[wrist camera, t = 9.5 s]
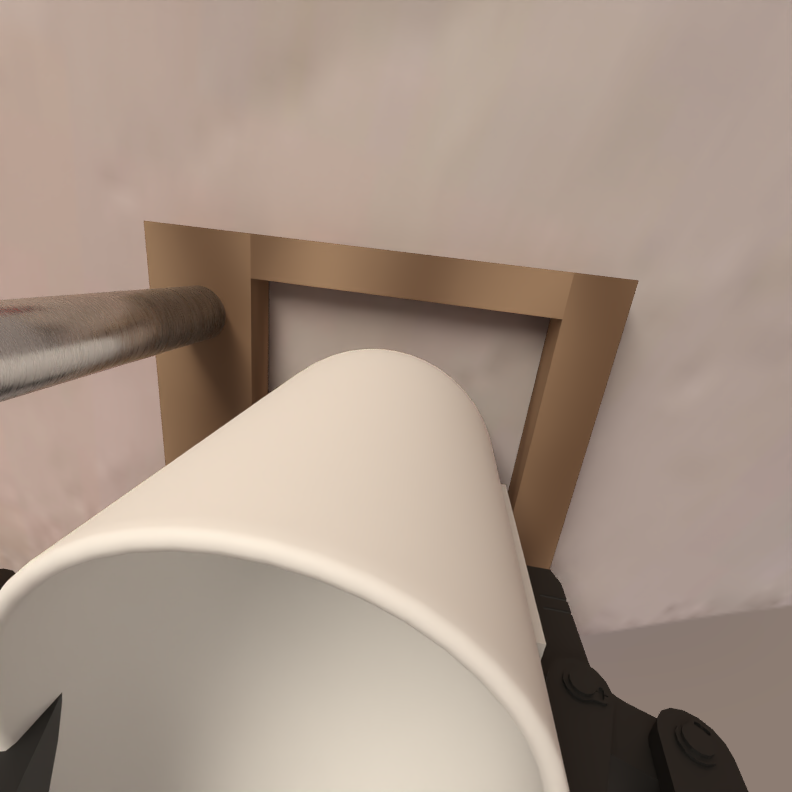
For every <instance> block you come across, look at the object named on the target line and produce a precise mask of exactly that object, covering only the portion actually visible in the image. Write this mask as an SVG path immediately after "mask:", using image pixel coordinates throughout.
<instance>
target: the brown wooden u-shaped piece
mask: <svg viewBox="0 0 792 792" xmlns="http://www.w3.org/2000/svg"><path fill="white" fill-rule="evenodd" d="M144 229H145V240H146V251H147V263H148V274H149V285H150V289H154V288H168V287H181V286H194V285H198V286H203V287H206V288H208V289H210V290H211V291H213V292H214V293H215V294H216V295H217V296H218V297H219V299H220V300H221V302H222V304H223V306H224V309H225V315H226V320H225V325H224V327H223V329H222V331H221V332H220V333H219V334H218V335H217V336H215V337H214V338H211V339H207V340H204V341H201V342H197V343H194V344H191V345H188V346H184V347H181V348H178V349H174V350H171V351H168V352H164V353H161V354H158V355H156V363H157V374H158V386H159V397H160V408H161V419H162V430H163V442H164V453H165V464H166V466H167V465H168V464H169V463H171V462H172V461H174V460H175V459H176V458H178V457H179V456H181V455H182V454H184V453H185V452H186V451H188V450H189V449H191V448H192V447H194V446H195V445H196V444H198V443H199V442H201V441H202V440H204V439H205V438H206V437H208V436H209V435H211V434H212V433H214V432H215V431H216V430H218V429H219V428H221V427H222V426H224V425H225V424H226V423H228V422H229V421H231V420H232V419H233V418H235V417H236V416H238V415H239V414H241V413H242V412H243V411H245V410H246V409H248V408H249V407H251V406H252V405H253V404H255V403H256V402H258V401H259V400H261V399H262V398H263V397H265V396H266V395H268V333H269V281H275V282H282V283H290V284H298V285H305V286H313V287H320V288H328V289H336V290H343V291H351V292H358V293H366V294H374V295H381V296H389V297H396V298H404V299H412V300H419V301H427V302H435V303H442V304H450V305H457V306H465V307H473V308H480V309H488V310H495V311H503V312H511V313H518V314H526V315H533V316H541V317H549V318H551V319H550V323H549V327H548V331H547V335H546V339H545V343H544V347H543V351H542V355H541V360H540V364H539V368H538V372H537V376H536V380H535V384H534V388H533V392H532V396H531V400H530V405H529V409H528V413H527V417H526V421H525V425H524V429H523V433H522V437H521V441H520V445H519V450H518V454H517V458H516V462H515V466H514V470H513V474H512V478H511V482H510V486H509V490H508V496H509V499H510V503H511V507H512V511H513V515H514V519H515V523H516V527H517V531H518V535H519V539H520V543H521V547H522V551H523V555H524V559H525V563H526V565H528V566H533V567H539V568H544V569H550V566H551V563H552V560H553V556H554V553H555V550H556V547H557V543H558V540H559V537H560V534H561V531H562V527H563V524H564V521H565V518H566V514H567V511H568V508H569V505H570V501H571V498H572V495H573V492H574V488H575V485H576V482H577V479H578V475H579V472H580V469H581V466H582V462H583V459H584V456H585V453H586V449H587V446H588V443H589V440H590V437H591V433H592V430H593V427H594V424H595V420H596V417H597V414H598V411H599V407H600V404H601V401H602V398H603V394H604V391H605V388H606V385H607V381H608V378H609V375H610V372H611V368H612V365H613V362H614V359H615V355H616V352H617V349H618V346H619V343H620V339H621V336H622V333H623V330H624V326H625V323H626V320H627V317H628V313H629V310H630V307H631V304H632V300H633V297H634V294H635V291H636V287H637V284H638V280H630V279H621V278H613V277H605V276H596V275H588V274H580V273H572V272H563V271H555V270H547V269H539V268H530V267H522V266H514V265H506V264H497V263H489V262H481V261H472V260H464V259H456V258H448V257H439V256H431V255H423V254H415V253H406V252H398V251H390V250H381V249H373V248H365V247H357V246H348V245H340V244H332V243H324V242H315V241H307V240H299V239H291V238H282V237H274V236H266V235H257V234H249V233H241V232H233V231H224V230H216V229H208V228H200V227H191V226H183V225H175V224H166V223H158V222H150V221H144Z"/></svg>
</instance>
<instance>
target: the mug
mask: <svg viewBox="0 0 792 792" xmlns="http://www.w3.org/2000/svg"><path fill="white" fill-rule="evenodd" d="M61 693H62V708H61V717H60V727H59V736H58V744H57V749H56V755H55V760H54V766H53V772H52V777H51V783H50V789H49V792H570V790H569V786H568V781H567V777H566V773H565V768H564V764H563V759H562V755H561V750H560V746H559V741H558V737H557V732H556V728H555V724H554V719H553V715H552V710H551V706H550V701H549V697H548V692H547V688H546V683H545V679H544V675H543V670H542V666H541V661H540V657H539V652H538V648H537V643H536V639H535V634H534V630H533V626H532V621H531V617H530V612H529V608H528V603H527V599H526V594H525V590H524V585H523V581H522V577H521V572H520V568H519V563H518V559H517V554H516V550H515V545H514V541H513V536H512V532H511V528H510V523H509V519H508V514H507V510H506V505H505V501H504V496H503V492H502V487H501V483H500V479H499V474H498V470H497V465H496V461H495V456H494V452H493V448H492V443H491V440H490V436H489V434H488V431H487V429H486V426H485V423H484V421H483V418H482V416H481V415H480V413H479V411H478V409H477V407H476V406H475V404H474V403H473V401H472V400H471V399H470V397H469V396H468V395H467V394H466V392H465V391H464V390H463V389H462V388H461V387H460V386H459V385H458V384H457V383H456V382H455V381H454V380H453V379H452V378H451V377H450V376H448V375H447V374H446V373H444V372H443V371H442V370H441V369H439V368H437V367H435V366H434V365H432V364H430V363H429V362H427V361H424V360H422V359H420V358H417V357H415V356H413V355H409V354H405V353H402V352H398V351H392V350H385V349H361V350H353V351H347V352H343V353H339V354H336V355H332V356H330V357H328V358H325V359H323V360H320V361H318V362H316V363H314V364H313V365H311V366H309V367H308V368H306V369H304V370H303V371H301V372H299V373H298V374H296V375H295V376H293V377H292V378H291V379H289V380H288V381H286V382H285V383H283V384H282V385H281V386H279V387H278V388H276V389H275V390H273V391H272V392H271V393H269V394H268V395H266V396H265V397H263V398H262V399H261V400H259V401H258V402H256V403H255V404H253V405H252V406H251V407H249V408H248V409H246V410H245V411H243V412H242V413H241V414H239V415H238V416H236V417H235V418H233V419H232V420H231V421H229V422H228V423H226V424H225V425H224V426H222V427H221V428H219V429H218V430H216V431H215V432H214V433H212V434H211V435H209V436H208V437H206V438H205V439H204V440H202V441H201V442H199V443H198V444H196V445H195V446H194V447H192V448H191V449H189V450H188V451H186V452H185V453H184V454H182V455H181V456H179V457H178V458H176V459H175V460H174V461H172V462H171V463H169V464H168V465H167V466H165V467H164V468H162V469H161V470H159V471H158V472H157V473H155V474H154V475H152V476H151V477H149V478H148V479H147V480H145V481H144V482H142V483H141V484H139V485H138V486H137V487H135V488H134V489H132V490H131V491H129V492H128V493H127V494H125V495H124V496H122V497H121V498H119V499H118V500H117V501H115V502H114V503H112V504H111V505H109V506H108V507H107V508H105V509H104V510H102V511H101V512H100V513H98V514H97V515H95V516H94V517H92V518H91V519H90V520H88V521H87V522H85V523H84V524H82V525H81V526H80V527H78V528H77V529H75V530H74V531H72V532H71V533H70V534H68V535H67V536H65V537H64V538H62V539H61V540H60V541H58V542H57V543H55V544H54V545H52V546H51V547H50V548H48V549H47V550H45V551H44V552H42V553H41V554H40V555H38V556H37V557H35V558H34V559H33V560H31V561H30V562H28V563H27V564H26V565H25V566H24V567H23V568H22V569H20V570H19V571H18V572H17V573H16V574H15V575H13V576H12V577H11V578H10V579H9V580H8V581H7V582H6V583H5V584H4V586H3V587H2V588H1V590H0V751H6V750H7V749H9V748H10V747H11V746H12V745H14V744H15V743H16V742H17V741H18V740H19V739H20V738H21V737H22V736H23V734H24V733H25V732H26V731H27V730H28V729H29V728H30V727H31V726H32V725H33V724H34V722H35V721H36V720H37V719H38V718H39V717H40V716H41V715H42V714H43V713H44V711H45V710H46V709H47V708H48V707H49V706H50V705H51V704H52V703H53V702H54V701H55V699H56V698H57V697H58V696H59V695H60V694H61Z"/></svg>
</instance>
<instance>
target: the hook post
mask: <svg viewBox="0 0 792 792" xmlns="http://www.w3.org/2000/svg"><path fill="white" fill-rule="evenodd" d="M225 320H226V315H225V309H224V306H223V304H222V302H221V300H220V299H219V297H218V296H217V295H216V294H215V293H214V292H213V291H211V290H210V289H208V288H206V287H203V286H198V285H194V286H181V287H168V288H154V289H141V290H128V291H114V292H101V293H88V294H75V295H61V296H48V297H35V298H21V299H8V300H0V402H2V401H5V400H8V399H12V398H15V397H18V396H21V395H25V394H28V393H31V392H35V391H38V390H41V389H45V388H48V387H51V386H55V385H58V384H61V383H65V382H68V381H71V380H75V379H78V378H81V377H85V376H88V375H91V374H95V373H98V372H101V371H105V370H108V369H111V368H114V367H118V366H121V365H124V364H128V363H131V362H134V361H138V360H141V359H144V358H148V357H151V356H154V355H158V354H161V353H164V352H168V351H171V350H174V349H178V348H181V347H184V346H188V345H191V344H194V343H197V342H201V341H204V340H207V339H211V338H214V337H215V336H217V335H218V334H219V333H220V332H221V331H222V329H223V327H224V325H225Z"/></svg>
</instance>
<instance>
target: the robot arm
mask: <svg viewBox="0 0 792 792" xmlns="http://www.w3.org/2000/svg"><path fill="white" fill-rule="evenodd" d="M501 487H502V492H503V496H504V501H505V505H506V510H507V514H508V519H509V523H510V528H511V532H512V536H513V541H514V545H515V550H516V554H517V559H518V563H519V568H520V572H521V577H522V581H523V585H524V590H525V594H526V599H527V603H528V608H529V612H530V617H531V621H532V626H533V630H534V634H535V639H536V643H537V648H538V652H539V657H540V661H541V666H542V670H543V675H544V679H545V683H546V688H547V692H548V697H549V701H550V706H551V710H552V715H553V719H554V724H555V728H556V732H557V737H558V741H559V746H560V750H561V755H562V759H563V764H564V768H565V773H566V777H567V781H568V786H569V790H570V792H748V790H747V788H746V785H745V783H744V781H743V778H742V776H741V774H740V771H739V769H738V767H737V764H736V762H735V760H734V758H733V756H732V754H731V753H730V751H729V749H728V748H727V746H726V744H725V743H724V742H723V741H722V740H721V738H720V737H719V736H718V735H717V734H716V733H715V732H714V731H713V729H711V728H710V727H709V726H707V725H706V724H705V723H704V722H702V721H701V720H700V719H699V718H697V717H695V716H693V715H691V714H689V713H687V712H685V711H683V710H678V709H673V708H669V709H665V710H662V711H661V712H660V714H659V716H658V718H655V717H653V716H651V715H649V714H647V713H645V712H643V711H641V710H639V709H637V708H635V707H633V706H631V705H629V704H627V703H626V702H624V701H622V700H621V699H619V698H617V697H616V696H615V695H614V694H612V693H611V691H610V689H609V687H608V685H607V683H606V682H605V681H604V679H603V678H602V677H601V676H600V675H599V674H598V673H597V672H596V671H595V670H594V669H593V668H591V667H590V665H589V663H588V660H587V657H586V654H585V651H584V648H583V645H582V643H581V640H580V637H579V634H578V631H577V628H576V625H575V622H574V619H573V617H572V615H571V611H570V608H569V605H568V602H566V597H565V594H564V591H563V588H562V585H561V583H560V582H559V581H558V579H557V578H556V577H555V576H554V574H553V573H552V572H551V571H550V569H544V568H539V567H533V566H528V565H526V563H525V559H524V555H523V551H522V547H521V543H520V539H519V535H518V531H517V527H516V523H515V519H514V515H513V511H512V507H511V503H510V499H509V496H508V492H507V488H506V485H504V484H501ZM13 575H15V573H14V571H12V570H7V569H0V590H1V588H2V587H3V586H4V584H5V583H6V582H7V581H8V580H9V579H10V578H11V577H12V576H13ZM61 708H62V693H61V694H60V695H59V696H58V697H57V698H56V699H55V701H54V702H53V703H52V704H51V705H50V706H49V707H48V708H47V709H46V710H45V711H44V713H43V714H42V715H41V716H40V717H39V718H38V719H37V720H36V721H35V722H34V724H33V725H32V726H31V727H30V728H29V729H28V730H27V731H26V732H25V733H24V734H23V736H22V737H21V738H20V739H19V740H18V741H17V742H16V743H15V744H14V745H12V746H11V747H10V748H9V749H7V750H6V751H0V792H49V789H50V783H51V777H52V772H53V766H54V760H55V755H56V749H57V744H58V736H59V727H60V717H61Z"/></svg>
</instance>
